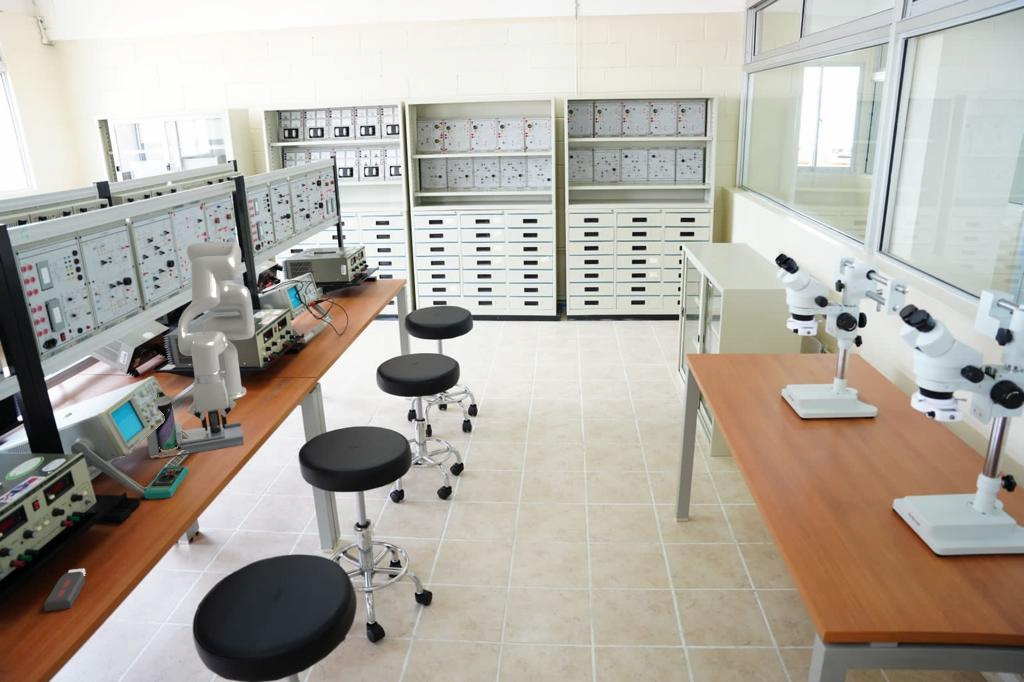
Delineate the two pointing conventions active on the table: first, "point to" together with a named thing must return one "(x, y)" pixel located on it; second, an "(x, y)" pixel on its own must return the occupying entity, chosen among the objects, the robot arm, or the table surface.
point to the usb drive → (66, 590)
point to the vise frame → (231, 439)
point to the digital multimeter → (166, 482)
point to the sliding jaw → (201, 431)
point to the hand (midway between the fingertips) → (215, 427)
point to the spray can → (166, 423)
